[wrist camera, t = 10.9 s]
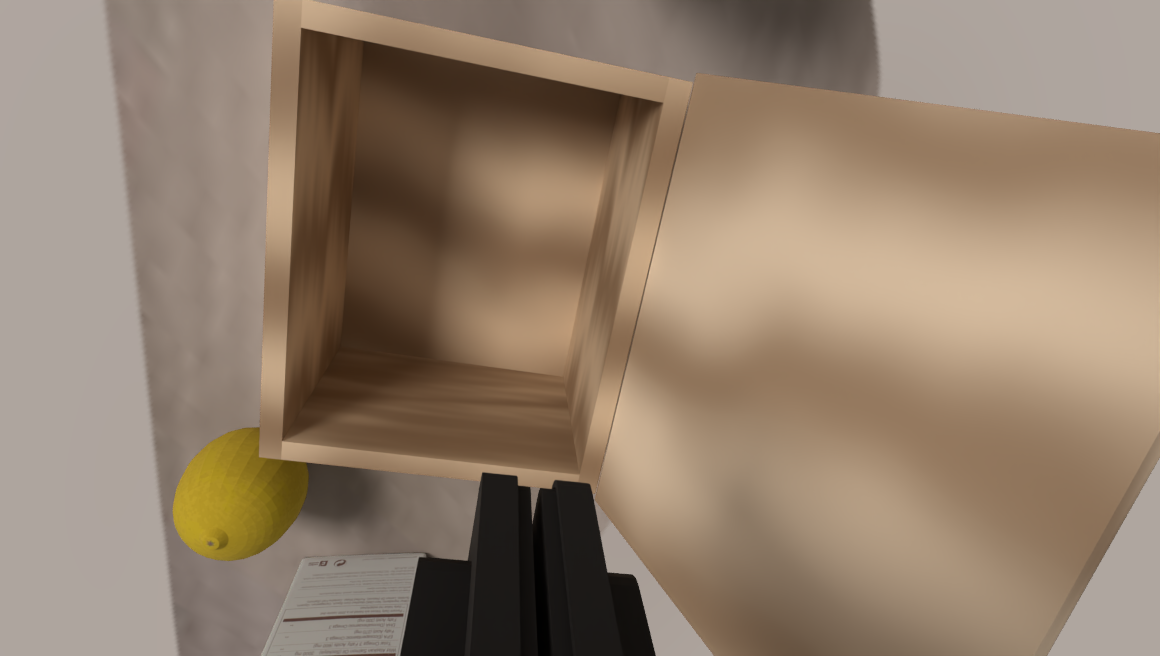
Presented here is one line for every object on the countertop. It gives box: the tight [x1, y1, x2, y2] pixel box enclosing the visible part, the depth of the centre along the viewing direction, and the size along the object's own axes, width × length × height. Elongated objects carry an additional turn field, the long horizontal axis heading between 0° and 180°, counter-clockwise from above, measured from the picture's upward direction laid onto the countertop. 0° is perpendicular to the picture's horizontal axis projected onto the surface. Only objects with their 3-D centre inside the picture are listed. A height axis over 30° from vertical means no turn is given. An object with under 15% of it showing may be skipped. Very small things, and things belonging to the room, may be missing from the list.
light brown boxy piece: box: [259, 0, 693, 494], centre depth 28 cm, size 16×13×10 cm
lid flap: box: [595, 73, 1160, 656], centre depth 18 cm, size 17×15×1 cm
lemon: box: [173, 428, 309, 561], centre depth 32 cm, size 6×6×8 cm
